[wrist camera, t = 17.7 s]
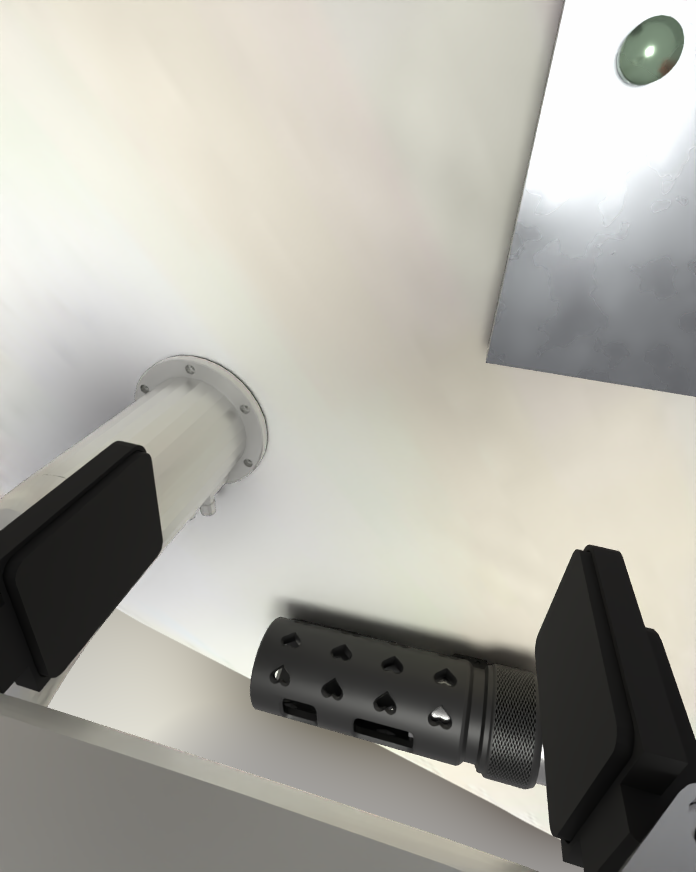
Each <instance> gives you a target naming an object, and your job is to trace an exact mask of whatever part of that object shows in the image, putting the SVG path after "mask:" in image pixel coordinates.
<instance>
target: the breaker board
mask: <svg viewBox="0 0 696 872" xmlns="http://www.w3.org/2000/svg"><path fill="white" fill-rule="evenodd" d="M486 363H492V364H498V365H504V366H510V367H516V368H522V369H528V370H535V371H541V372H547V373H553V374H559V375H565V376H571V377H578V378H584V379H590V380H596V381H602V382H608V383H615V384H621V385H627V386H633V387H639V388H645V389H651V390H658V391H664V392H670V393H676V394H682V395H688V396H694V397H696V0H564V3H563V7H562V12H561V16H560V21H559V25H558V30H557V34H556V39H555V44H554V48H553V53H552V57H551V62H550V66H549V71H548V75H547V80H546V85H545V89H544V94H543V98H542V103H541V107H540V112H539V117H538V121H537V126H536V130H535V135H534V139H533V144H532V148H531V153H530V158H529V162H528V167H527V171H526V176H525V180H524V185H523V189H522V194H521V199H520V203H519V208H518V212H517V217H516V221H515V226H514V230H513V235H512V240H511V244H510V249H509V253H508V258H507V262H506V267H505V272H504V276H503V281H502V285H501V290H500V294H499V299H498V303H497V308H496V313H495V317H494V322H493V326H492V331H491V335H490V340H489V344H488V351H487V358H486Z"/></svg>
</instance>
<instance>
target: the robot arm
mask: <svg viewBox="0 0 696 872" xmlns="http://www.w3.org/2000/svg"><path fill="white" fill-rule="evenodd" d="M266 445H267V428H266V424H265V420H264V416H263V414H262V412H261V409H260V407H259V405H258V403H257V402H256V400H255V398H254V397H253V395H252V394H251V392H250V391H249V390H248V389H247V388H246V387H245V385H244V384H243V383H242V382H241V381H240V380H239V379H237V378H236V377H235V376H234V375H233V374H232V373H230V372H229V371H227V370H226V369H224V368H222V367H221V366H219V365H218V364H215V363H213V362H210V361H208V360H206V359H202V358H198V357H194V356H175V357H169V358H166V359H164V360H162V361H160V362H158V363H156V364H155V365H153V366H152V367H151V368H149V369H148V370H147V371H146V372H145V373H144V374H143V375H142V376H141V378H140V380H139V382H138V384H137V387H136V392H135V402H134V403H133V404H131V405H130V406H128V407H127V408H126V409H124V410H123V411H121V412H120V413H119V414H117V415H116V416H114V417H113V418H112V419H110V420H109V421H107V422H106V423H105V424H103V425H102V426H100V427H99V428H97V429H96V430H95V431H93V432H92V433H90V434H89V435H88V436H86V437H85V438H83V439H82V440H81V441H79V442H78V443H76V444H75V445H74V446H72V447H71V448H69V449H68V450H67V451H65V452H64V453H62V454H61V455H60V456H58V457H57V458H55V459H54V460H53V461H51V462H50V463H48V464H47V465H46V466H44V467H43V468H41V469H40V470H39V471H37V472H36V473H34V474H33V475H32V476H30V477H29V478H27V479H26V480H25V481H23V482H22V483H20V484H19V485H18V486H16V487H15V488H14V489H12V490H11V491H10V492H9V493H7V494H6V495H5V496H4V497H3V498H2V499H1V500H0V872H538V871H535V870H532V869H530V868H528V867H525V866H522V865H519V864H517V863H514V862H511V861H508V860H505V859H502V858H499V857H497V856H494V855H491V854H488V853H485V852H483V851H480V850H477V849H474V848H471V847H468V846H466V845H462V844H460V843H457V842H454V841H451V840H449V839H446V838H443V837H440V836H437V835H434V834H432V833H429V832H426V831H423V830H420V829H417V828H414V827H411V826H408V825H405V824H402V823H399V822H396V821H392V820H389V819H387V818H384V817H380V816H378V815H375V814H372V813H369V812H366V811H362V810H360V809H357V808H354V807H350V806H348V805H344V804H341V803H339V802H335V801H333V800H330V799H326V798H324V797H321V796H318V795H314V794H311V793H309V792H305V791H303V790H300V789H297V788H294V787H291V786H288V785H284V784H281V783H278V782H275V781H272V780H269V779H266V778H263V777H260V776H257V775H254V774H251V773H248V772H245V771H242V770H239V769H235V768H232V767H229V766H226V765H224V764H220V763H217V762H214V761H211V760H208V759H205V758H202V757H199V756H196V755H193V754H189V753H187V752H184V751H181V750H177V749H174V748H171V747H168V746H165V745H162V744H159V743H156V742H153V741H150V740H147V739H143V738H141V737H137V736H135V735H131V734H128V733H125V732H122V731H119V730H116V729H113V728H110V727H107V726H103V725H100V724H97V723H94V722H91V721H88V720H85V719H82V718H78V717H75V716H72V715H69V714H66V713H63V712H60V711H57V710H54V709H50V708H47V707H48V705H49V703H50V702H51V700H52V698H53V696H54V695H55V693H56V692H57V690H58V688H59V687H60V685H61V683H62V682H63V680H64V679H65V677H66V675H67V674H68V672H69V671H70V669H71V668H72V666H73V665H74V663H75V662H76V660H77V659H78V657H79V656H80V654H81V653H82V651H83V650H84V648H85V647H86V645H87V644H88V643H89V642H90V640H91V639H92V638H93V636H94V635H95V634H96V632H97V631H98V630H99V628H100V627H101V626H102V624H103V623H104V622H105V620H106V619H107V618H108V617H109V616H110V614H111V613H112V612H113V611H114V609H115V608H116V607H117V606H118V604H119V603H120V602H121V601H122V600H123V598H124V597H125V596H126V595H127V594H128V592H129V591H130V590H131V589H132V588H133V586H134V585H135V584H136V583H137V582H138V580H139V579H140V578H141V577H142V576H143V574H144V573H145V572H146V571H147V570H148V568H149V567H150V566H151V565H152V564H153V563H154V561H155V560H156V559H157V558H158V557H159V555H160V554H161V553H162V552H163V551H164V549H165V548H166V547H167V546H168V545H169V543H170V542H171V541H172V540H173V539H174V538H175V536H176V535H177V534H178V533H179V532H180V530H181V529H182V528H183V527H184V526H185V524H186V523H187V522H188V521H190V520H192V519H193V518H195V516H196V511H197V510H198V509H199V508H200V510H201V514H202V515H204V516H211V515H213V514H214V513H215V512H216V506H215V500H214V496H215V494H216V493H217V492H218V491H219V490H220V488H221V487H222V486H223V485H224V484H230V483H233V482H237V481H240V480H241V479H243V478H245V477H247V476H248V475H249V474H250V473H251V472H252V471H253V470H255V468H256V467H257V465H258V464H259V463H260V461H261V460H262V458H263V455H264V453H265V450H266ZM535 659H536V671H537V683H538V695H539V706H540V718H541V730H542V742H543V753H544V765H545V777H546V789H547V800H548V812H549V823H550V829H551V833H552V835H553V836H554V837H557V838H560V839H561V845H562V855H563V861H564V862H567V863H570V864H573V865H576V866H580V867H583V868H584V872H696V739H695V736H694V734H693V731H692V728H691V725H690V722H689V719H688V716H687V713H686V710H685V707H684V704H683V702H682V699H681V696H680V693H679V690H678V687H677V684H676V681H675V678H674V675H673V672H672V670H671V667H670V664H669V661H668V658H667V655H666V652H665V649H664V646H663V643H662V641H661V639H660V637H659V635H658V633H657V632H656V631H655V630H654V629H651V628H646V627H645V625H644V622H643V619H642V616H641V613H640V610H639V607H638V604H637V600H636V597H635V594H634V591H633V588H632V585H631V582H630V578H629V575H628V572H627V569H626V566H625V563H624V560H623V557H622V554H621V553H620V552H619V551H616V550H612V549H607V548H602V547H598V546H593V545H587V546H586V547H585V549H584V550H583V551H582V550H578V549H577V550H575V551H574V553H573V555H572V557H571V559H570V561H569V564H568V566H567V568H566V571H565V573H564V575H563V578H562V580H561V582H560V585H559V587H558V589H557V592H556V594H555V596H554V599H553V601H552V603H551V605H550V608H549V610H548V612H547V615H546V617H545V619H544V622H543V624H542V626H541V629H540V631H539V633H538V636H537V639H536V645H535Z"/></svg>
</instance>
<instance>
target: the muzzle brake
mask: <svg viewBox="0 0 696 872" xmlns="http://www.w3.org/2000/svg"><path fill="white" fill-rule="evenodd" d="M277 670H279V671H278V674H277V677H276V678H275V672H276V671H277ZM250 696H251V702H252V705H253V707H254V708H255V709H258V710H261V711H265V712H268V713H271V714H275V715H278V716H282V717H286V718H290V719H293V720H296V721H300V722H304V723H307V724H310V725H314V726H317V727H321V728H325V729H328V730H331V731H335V732H338V733H342V734H345V735H349V736H353V737H356V738H360V739H363V740H367V741H370V742H374V743H377V744H381V745H384V746H388V747H391V748H395V749H398V750H402V751H405V752H409V753H413V754H416V755H420V756H423V757H427V758H430V759H434V760H437V761H441V762H444V763H448V764H451V765H455V766H456V765H459V764H461V763H462V762H463V761H464V762H467V763H471V764H474V765H475V768H476V771H477V772H478V773H481V774H482V776H483V777H484V778H487V779H490V780H494V781H497V782H501V783H504V784H508V785H511V786H515V787H518V788H522V789H529V788H533V787H534V786H535V784H536V783H537V784H541V785H544V786H546V777H545V765H544V753H543V742H542V730H541V718H540V706H539V695H538V683H537V675H536V674H534V673H533V672H531V671H526V670H522V669H518V668H513V667H509V666H505V665H500V664H496V663H494V664H493V665H488V664H487V661H485V660H481V659H476V658H472V657H468V656H463V655H459V654H454V655H453V656H452V657H451V656H446V655H443V654H439V653H435V652H430V651H426V650H422V649H417V648H413V647H408V646H404V645H398V644H396V642H393V641H391V642H387V641H382V640H378V639H374V638H372V637H371V636H366V635H362V634H358V633H353V632H349V631H345V630H340V629H336V628H332V627H327V626H323V625H319V624H314V623H310V622H306V621H301V620H297V619H287V618H283V617H279V618H277V619H275V620H274V621H273V622H272V623H271V625H270V626H269V627H268V629H267V631H266V633H265V634H264V637H263V639H262V641H261V643H260V646H259V649H258V652H257V655H256V658H255V662H254V666H253V670H252V676H251V684H250ZM392 708H393V710H391V709H392Z"/></svg>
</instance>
